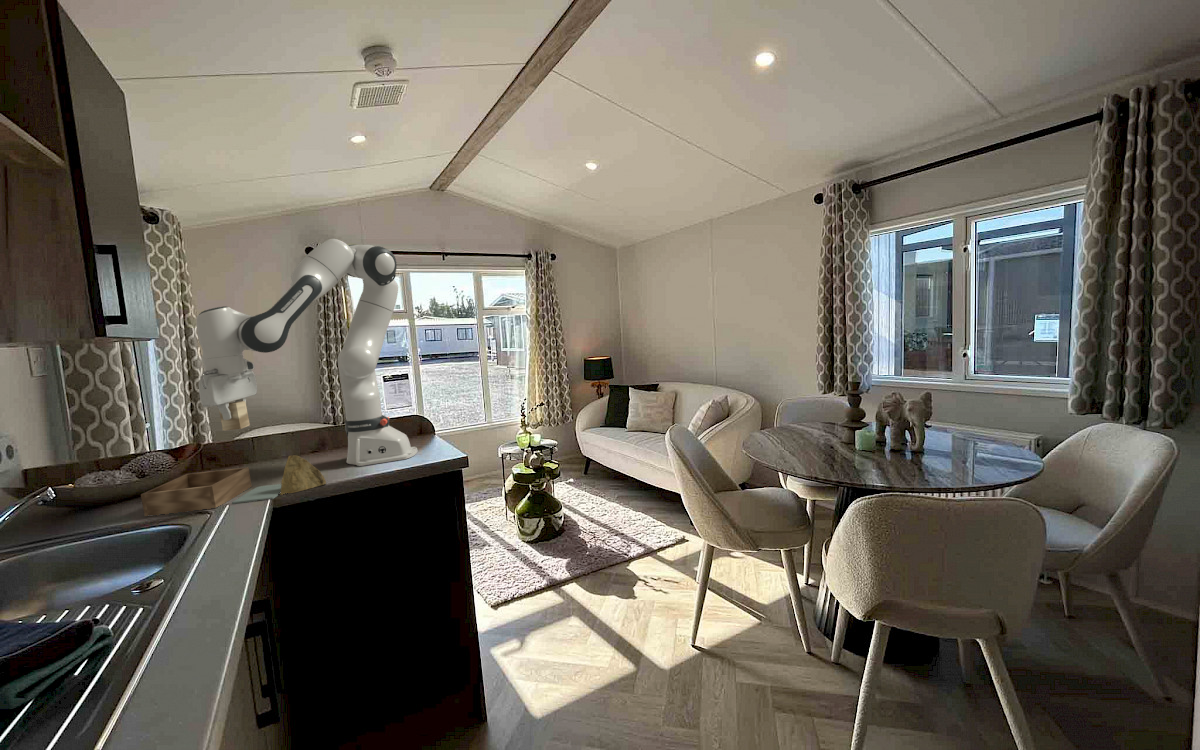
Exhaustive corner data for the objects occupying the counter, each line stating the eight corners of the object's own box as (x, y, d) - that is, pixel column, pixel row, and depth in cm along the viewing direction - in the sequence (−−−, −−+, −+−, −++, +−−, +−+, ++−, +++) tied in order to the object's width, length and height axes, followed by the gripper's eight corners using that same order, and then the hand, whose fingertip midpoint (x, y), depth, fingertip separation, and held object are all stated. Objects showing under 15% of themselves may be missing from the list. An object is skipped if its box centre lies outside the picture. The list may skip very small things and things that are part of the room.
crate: (251, 486, 148) (248, 467, 147) (215, 508, 131) (212, 486, 130) (189, 494, 146) (186, 474, 145) (144, 516, 128) (140, 494, 128)
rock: (334, 472, 148) (299, 470, 148) (325, 454, 143) (289, 452, 142) (318, 504, 141) (282, 502, 140) (308, 486, 135) (270, 485, 134)
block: (249, 425, 141) (245, 400, 140) (240, 428, 136) (235, 403, 135) (232, 427, 140) (227, 402, 139) (223, 431, 136) (217, 405, 135)
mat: (294, 484, 147) (294, 482, 147) (272, 499, 135) (272, 497, 135) (257, 488, 146) (257, 486, 146) (232, 503, 133) (231, 502, 133)
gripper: (213, 369, 126) (224, 423, 128) (257, 362, 146) (266, 409, 148) (186, 372, 125) (197, 426, 127) (234, 365, 145) (243, 411, 147)
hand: (234, 417), depth 138 cm, fingers closed on block, 4 cm apart
